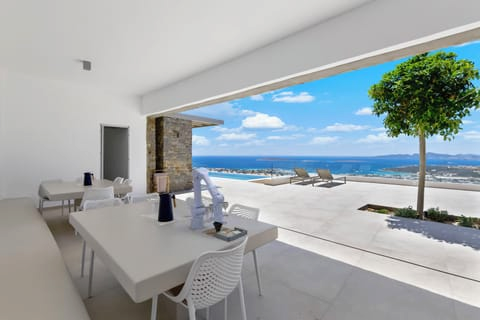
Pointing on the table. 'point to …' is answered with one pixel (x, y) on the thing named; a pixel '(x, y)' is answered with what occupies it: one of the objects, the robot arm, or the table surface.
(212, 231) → the walnut board
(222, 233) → the cream tile
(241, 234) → the tray
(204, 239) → the table surface
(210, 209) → the goblet set
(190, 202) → the heart sculpture
